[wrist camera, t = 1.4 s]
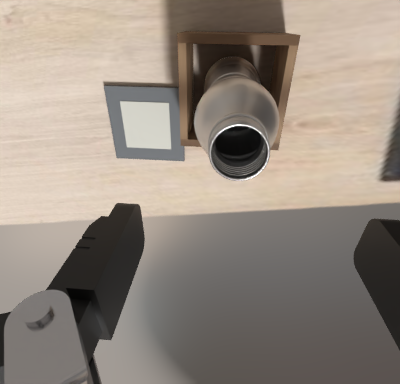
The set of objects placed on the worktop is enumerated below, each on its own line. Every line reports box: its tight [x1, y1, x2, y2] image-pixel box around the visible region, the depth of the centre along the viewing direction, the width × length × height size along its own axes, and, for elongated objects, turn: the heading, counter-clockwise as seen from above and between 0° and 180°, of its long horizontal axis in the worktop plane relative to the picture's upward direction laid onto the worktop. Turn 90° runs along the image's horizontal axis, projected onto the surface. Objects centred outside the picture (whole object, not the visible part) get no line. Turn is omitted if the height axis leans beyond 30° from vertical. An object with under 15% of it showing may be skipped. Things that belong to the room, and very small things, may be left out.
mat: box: [104, 85, 185, 161], centre depth 35 cm, size 10×10×1 cm
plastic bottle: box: [194, 56, 279, 181], centre depth 23 cm, size 6×7×20 cm
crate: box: [177, 31, 300, 150], centre depth 29 cm, size 11×11×6 cm
